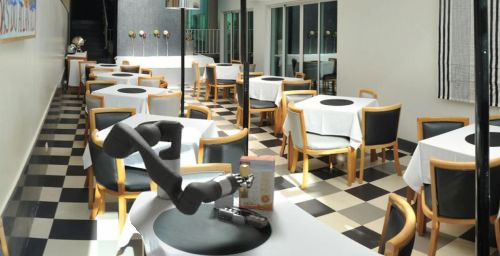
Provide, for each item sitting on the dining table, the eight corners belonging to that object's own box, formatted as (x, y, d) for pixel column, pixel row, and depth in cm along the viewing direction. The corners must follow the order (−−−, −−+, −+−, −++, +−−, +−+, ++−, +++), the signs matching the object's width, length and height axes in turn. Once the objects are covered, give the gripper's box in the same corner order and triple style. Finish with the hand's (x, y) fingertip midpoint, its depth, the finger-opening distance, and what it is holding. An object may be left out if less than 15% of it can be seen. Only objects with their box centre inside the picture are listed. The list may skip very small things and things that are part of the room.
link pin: (237, 197, 169) (238, 166, 167) (242, 194, 172) (243, 164, 170) (245, 198, 167) (246, 167, 165) (250, 196, 170) (251, 165, 168)
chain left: (218, 216, 175) (219, 209, 174) (226, 213, 179) (226, 206, 178) (233, 221, 171) (234, 213, 171) (240, 217, 175) (241, 209, 175)
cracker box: (273, 205, 189) (275, 157, 185) (272, 210, 183) (274, 160, 179) (240, 202, 191) (242, 154, 187) (238, 207, 185) (239, 158, 181)
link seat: (232, 221, 170) (232, 214, 170) (242, 216, 176) (242, 209, 175) (244, 225, 168) (244, 217, 167) (253, 219, 173) (253, 212, 173)
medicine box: (233, 205, 187) (234, 185, 186) (233, 209, 183) (234, 189, 181) (214, 205, 187) (214, 185, 185) (213, 209, 183) (214, 188, 181)
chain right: (245, 224, 168) (245, 216, 168) (252, 220, 172) (252, 212, 172) (261, 228, 165) (261, 221, 164) (268, 224, 169) (268, 217, 168)
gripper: (205, 192, 161) (233, 181, 175) (238, 201, 153) (264, 189, 168) (205, 172, 160) (233, 163, 174) (239, 180, 152) (265, 169, 167)
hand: (248, 175), depth 171 cm, fingers closed on link pin, 3 cm apart
